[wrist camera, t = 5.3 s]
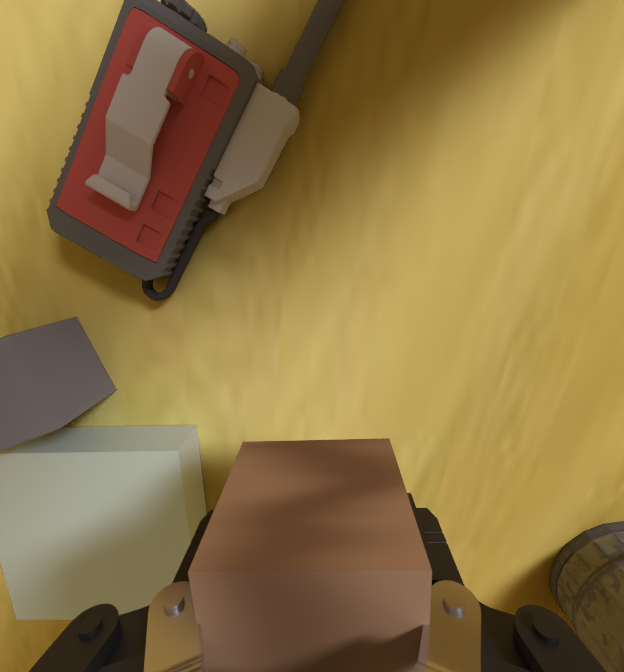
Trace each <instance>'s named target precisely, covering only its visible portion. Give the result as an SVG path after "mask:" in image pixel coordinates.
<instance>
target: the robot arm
mask: <svg viewBox="0 0 624 672" xmlns="http://www.w3.org/2000/svg"><path fill="white" fill-rule="evenodd" d="M407 495H408V498H409V501H410V504H411V507H412V510H413V514H414V517H415V520H416V523H417V526H418V529H419V532H420V535H421V538H422V541H423V544H424V547H425V551H426V554H427V557H428V560H429V563H430V566H431V569H432V586H431V609H430V625H423V631H422V637H421V644H420V650H419V656H418V661H417V662H416V664H415V668H414V672H607V671H606V670H605V669H604V668H603V667H602V665H601V664H600V663H599V662H598V661H597V659H596V658H595V657H594V656H593V655H592V653H591V652H590V651H589V650H588V648H587V647H586V646H585V645H584V644H583V642H582V641H581V640H580V639H579V638H578V636H577V635H576V634H575V633H574V632H573V630H572V629H571V628H570V627H569V626H568V624H567V623H566V622H565V621H564V620H562V619H561V618H560V617H559V616H558V615H556V614H555V613H553V612H551V611H550V610H547V609H545V608H543V607H540V606H535V605H526V606H523V607H521V608H519V609H518V610H517V612H516V614H515V616H514V615H511V614H508V613H505V612H501V611H498V610H495V609H492V608H490V607H488V606H486V605H484V604H482V603H481V602H479V601H478V600H477V598H476V597H475V596H474V594H473V593H472V592H471V591H470V590H469V589H467V588H466V587H465V586H464V584H463V581H462V579H461V577H460V574H459V572H458V569H457V567H456V564H455V562H454V559H453V557H452V554H451V552H450V549H449V547H448V544H447V543H446V539H445V537H444V535H443V533H442V530H441V527H440V525H439V522H438V520H437V518H436V517H435V516H434V515H433V514H432V513H431V512H430V511H429V510H428V509H427V508H416V506H415V503H414V501H413V498H412V495H411V493H407ZM213 512H214V510H211V511H210V512H209V513H208V514H207V515H206V516H205V517H204V518H203V519H202V520H201V521H200V523H199V525H198V527H197V530H196V532H195V535H194V536H193V538H192V541H191V544H190V545H189V547H188V549H187V551H186V554H185V556H184V558H183V560H182V562H181V565H180V567H179V569H178V571H177V573H176V576H175V578H174V580H173V582H172V584H170V585H168V586H166V587H165V588H163V589H162V590H161V591H160V592H159V593H158V594H157V595H156V596H155V597H154V599H153V600H152V602H151V604H150V605H148V606H146V607H143V608H141V609H137V610H134V611H131V612H128V613H125V614H121V615H119V613H118V610H117V608H116V607H115V606H113V605H111V604H99V605H96V606H93V607H91V608H89V609H87V610H85V611H83V612H82V613H81V614H79V615H78V616H77V617H76V618H75V619H74V620H73V621H72V622H71V623H70V624H69V625H68V626H67V628H66V629H65V630H64V631H63V632H62V633H61V635H60V636H59V637H58V638H57V639H56V640H55V642H54V643H53V644H52V645H51V646H50V647H49V649H48V650H47V651H46V652H45V653H44V654H43V656H42V657H41V658H40V659H39V660H38V661H37V663H36V664H35V665H34V666H33V667H32V668H31V670H30V671H29V672H205V662H204V648H203V636H202V630H201V624H197V622H196V617H195V611H194V605H193V599H192V593H191V587H190V582H189V576H188V571H189V568H190V566H191V564H192V561H193V559H194V556H195V554H196V552H197V549H198V547H199V545H200V542H201V540H202V538H203V535H204V533H205V531H206V528H207V526H208V523H209V521H210V519H211V516H212V514H213Z"/></svg>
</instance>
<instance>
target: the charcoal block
mask: <svg viewBox="0 0 624 672" xmlns="http://www.w3.org/2000/svg"><path fill="white" fill-rule="evenodd" d="M116 390H117V389H116V388H115V386H114V384H113V382H112V380H111V379H110V377H109V375H108V373H107V371H106V369H105V368H104V366H103V364H102V362H101V360H100V358H99V357H98V355H97V353H96V351H95V349H94V348H93V346H92V344H91V342H90V340H89V338H88V337H87V335H86V333H85V331H84V329H83V327H82V326H81V324H80V322H79V320H78V318H77V317H74V318H70V319H67V320H63V321H59V322H56V323H52V324H48V325H44V326H41V327H37V328H33V329H30V330H26V331H22V332H19V333H15V334H11V335H7V336H4V337H2V338H0V451H1V450H4V449H6V448H9V447H12V446H14V445H17V444H20V443H22V442H25V441H28V440H30V439H33V438H36V437H39V436H41V435H44V434H47V433H49V432H52V431H55V430H57V429H60V428H62V427H63V426H65V425H66V424H67V423H69V422H70V421H72V420H73V419H75V418H76V417H78V416H79V415H81V414H82V413H84V412H85V411H87V410H88V409H89V408H91V407H92V406H94V405H95V404H97V403H98V402H100V401H101V400H103V399H104V398H106V397H107V396H109V395H110V394H112V393H113V392H114V391H116Z"/></svg>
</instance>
